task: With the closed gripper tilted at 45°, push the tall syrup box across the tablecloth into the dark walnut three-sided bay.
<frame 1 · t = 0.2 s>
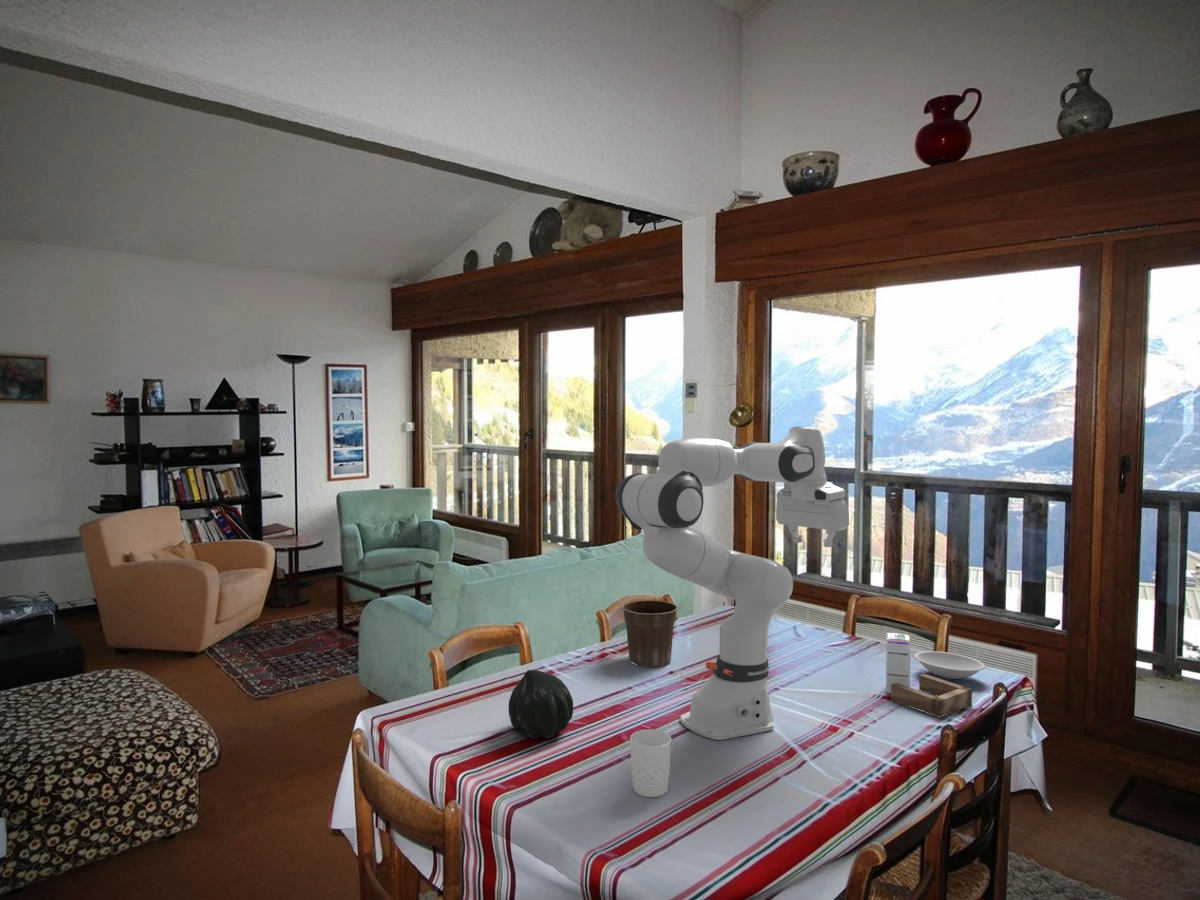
hand: (812, 544, 188), 39 cm above the table, tool pointing down, fingers open, 8 cm apart
syrup box: (897, 691, 195), on the table
walnut bay: (930, 702, 187), on the table
dish: (948, 679, 204), on the table
white cup: (650, 789, 143), on the table
plant pot: (649, 661, 217), on the table
squash: (541, 732, 169), on the table
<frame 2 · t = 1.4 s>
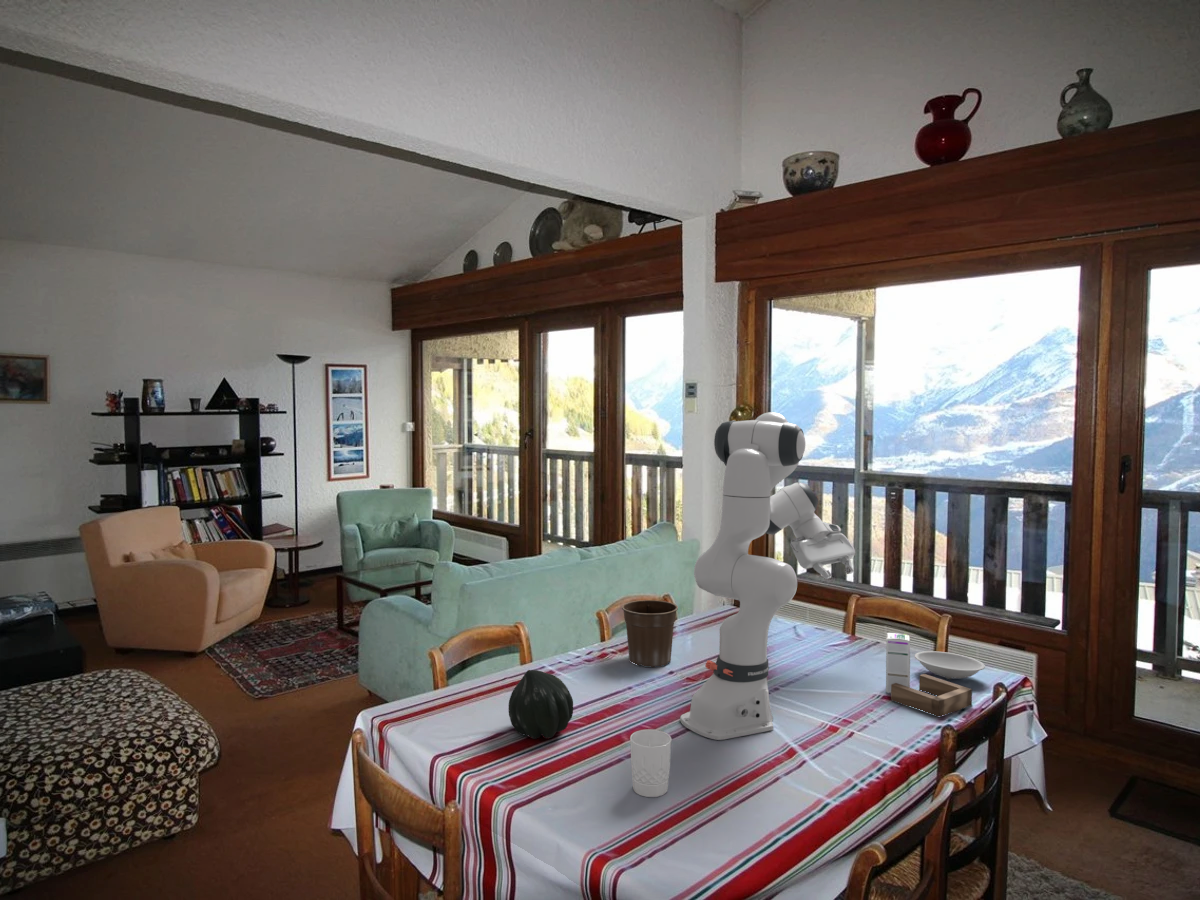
hand: (839, 575, 209), 27 cm above the table, tool tilted 45°, fingers open, 8 cm apart
nothing on the table moved.
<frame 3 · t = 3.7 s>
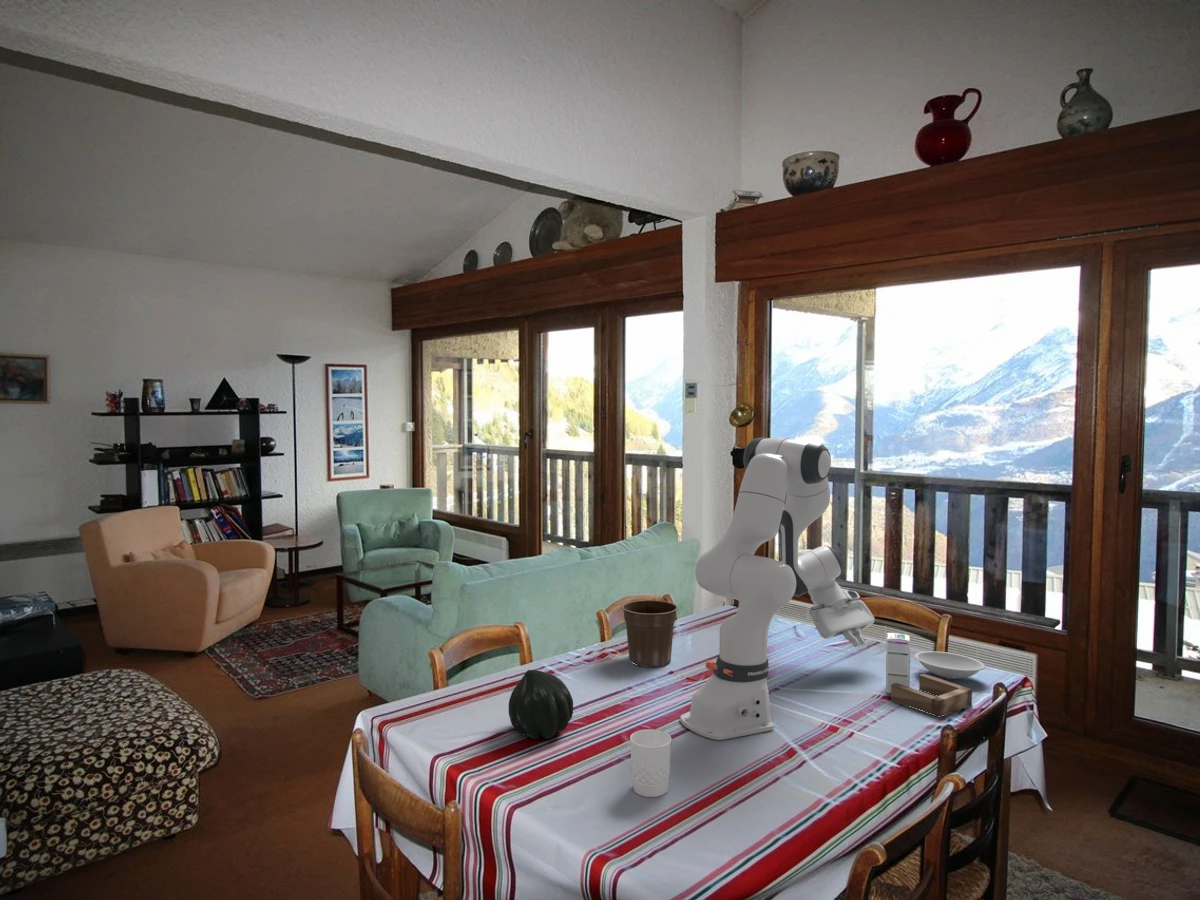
hand: (860, 645, 204), 9 cm above the table, tool tilted 45°, fingers closed
nothing on the table moved.
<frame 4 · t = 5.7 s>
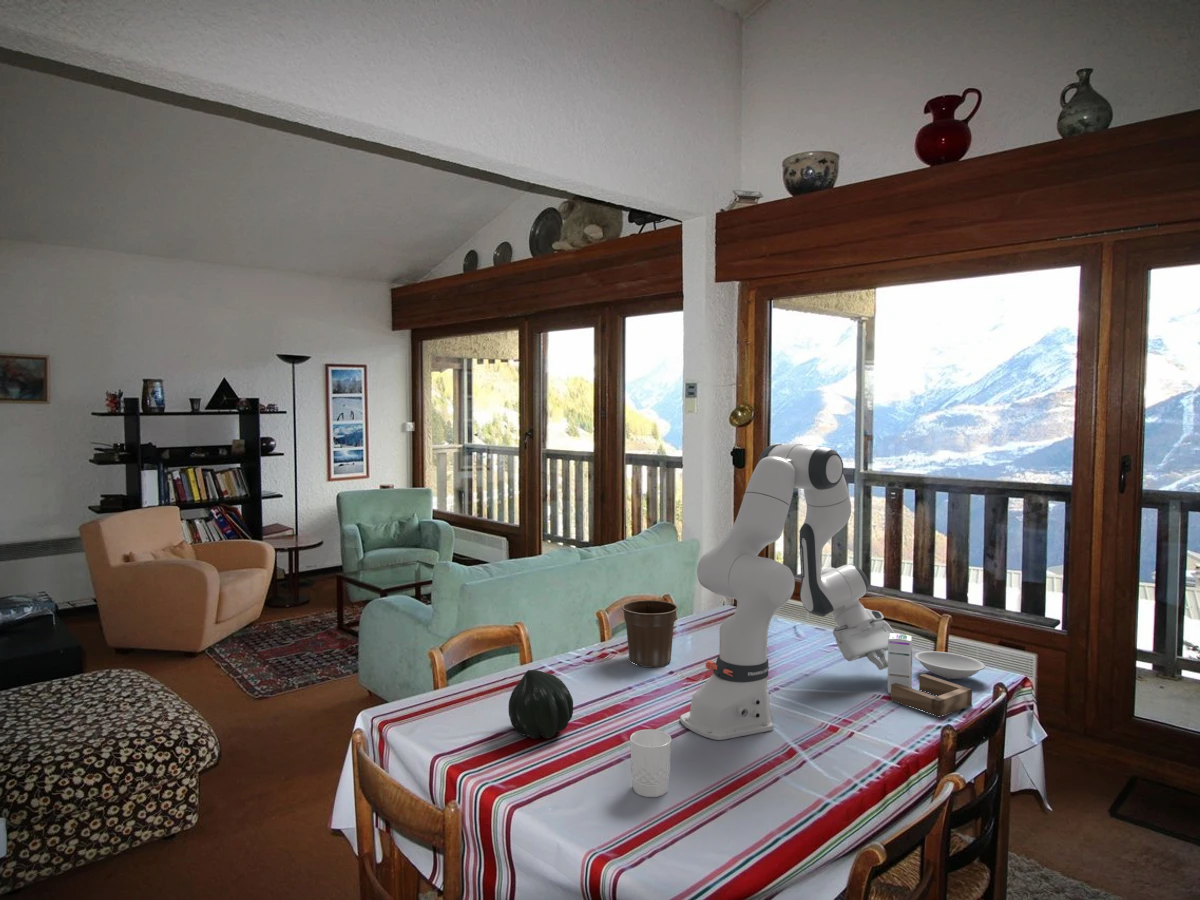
hand: (885, 668, 198), 5 cm above the table, tool tilted 45°, fingers closed
syrup box: (899, 692, 194), on the table, touching gripper
everything else where it was.
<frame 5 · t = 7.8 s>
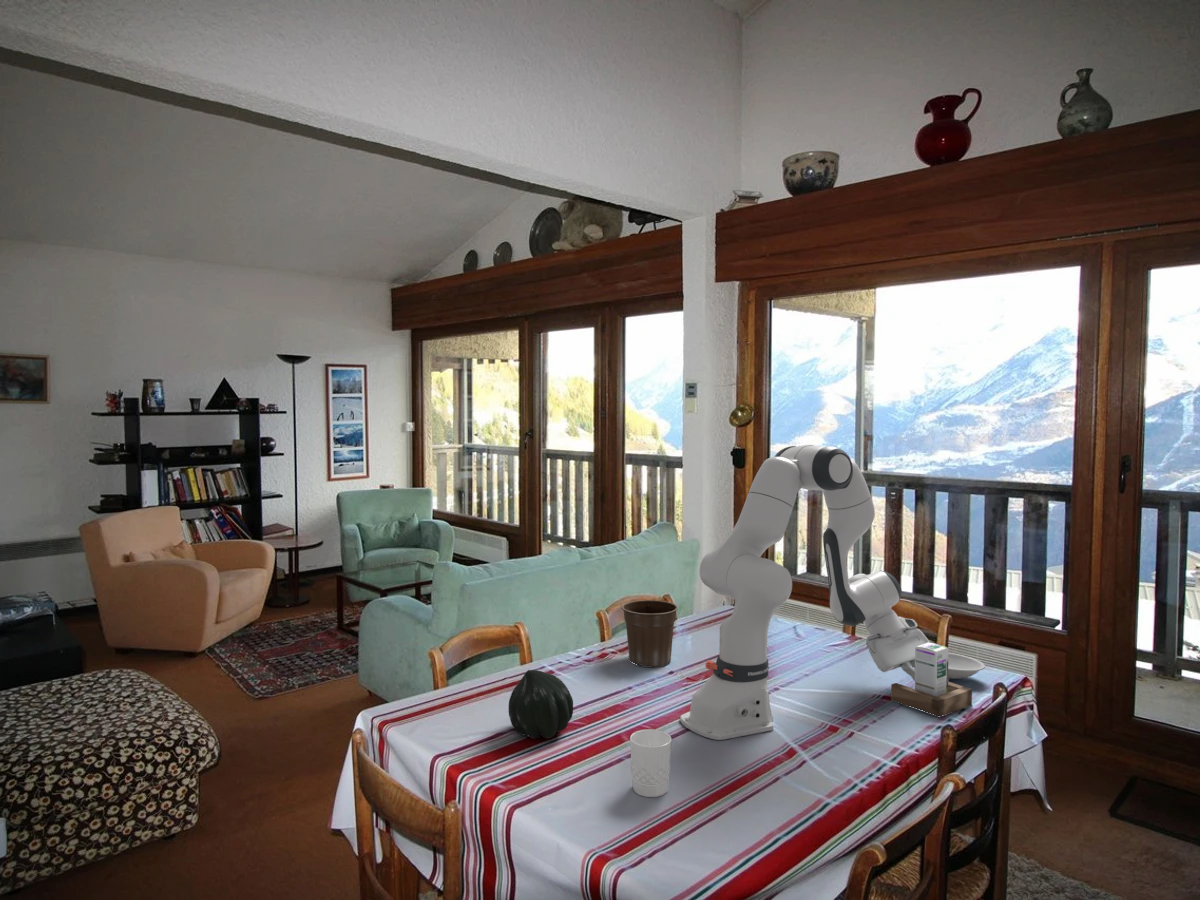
hand: (920, 679, 189), 5 cm above the table, tool tilted 45°, fingers closed, pressing on syrup box
syrup box: (930, 704, 186), on the table, touching gripper
everything else where it was.
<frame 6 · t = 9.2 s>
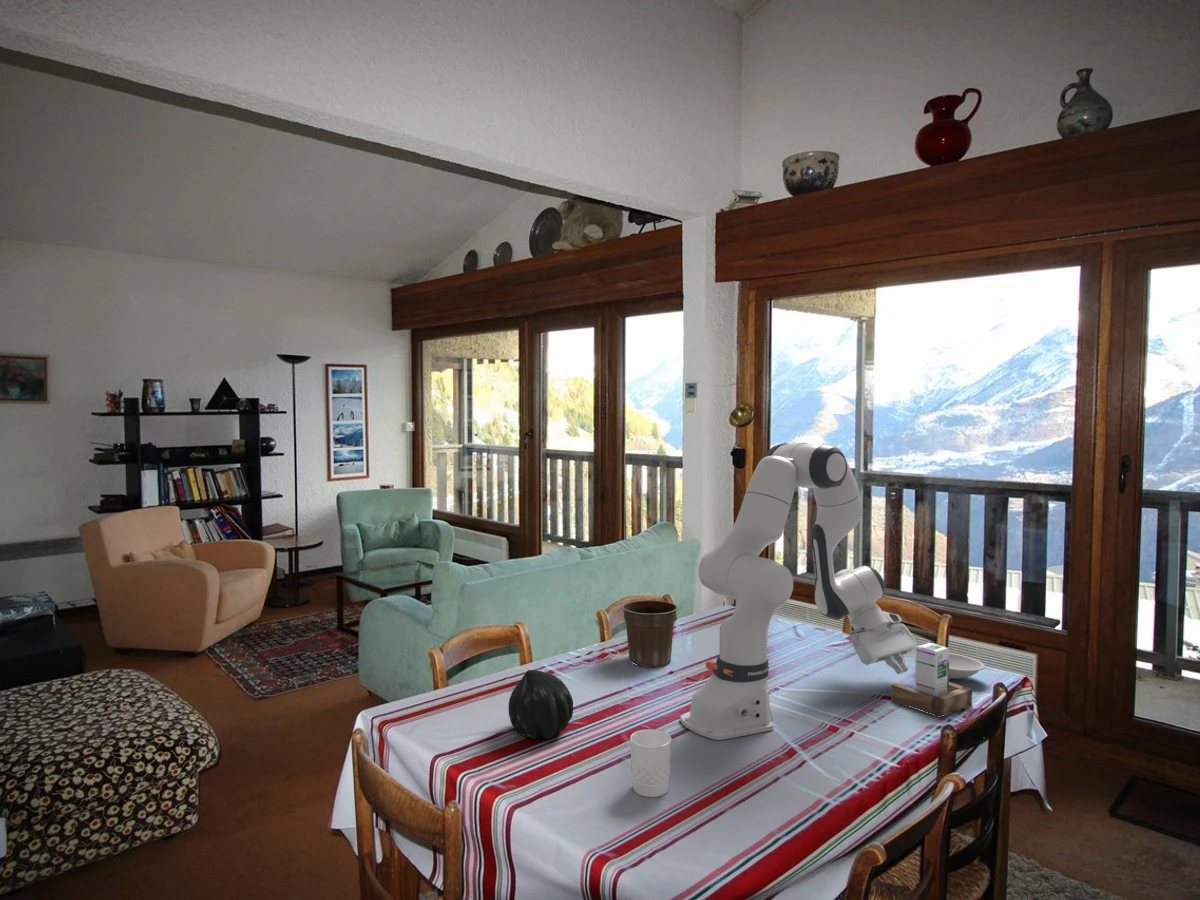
hand: (903, 672, 193), 5 cm above the table, tool tilted 45°, fingers closed
syrup box: (931, 704, 186), on the table
everything else where it was.
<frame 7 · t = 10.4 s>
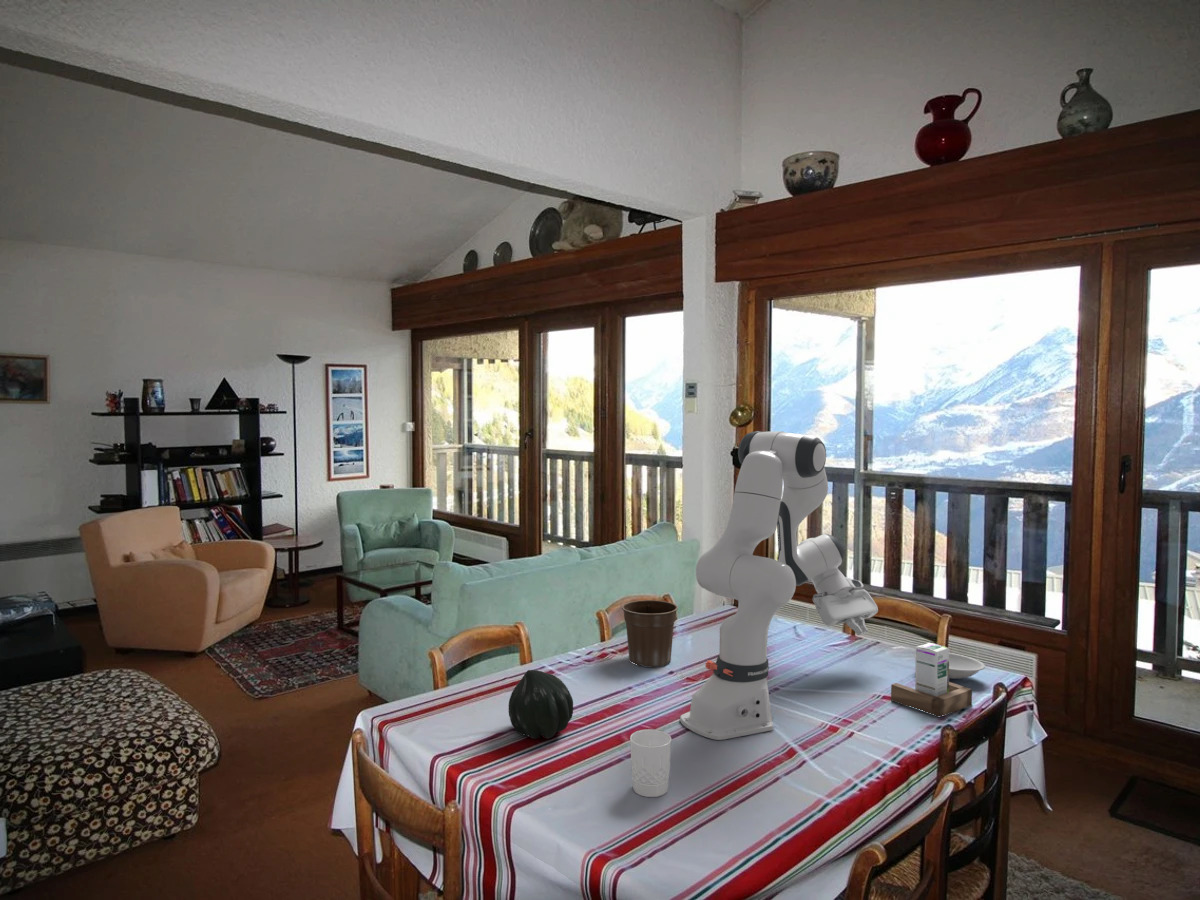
hand: (863, 633, 203), 12 cm above the table, tool tilted 45°, fingers closed
nothing on the table moved.
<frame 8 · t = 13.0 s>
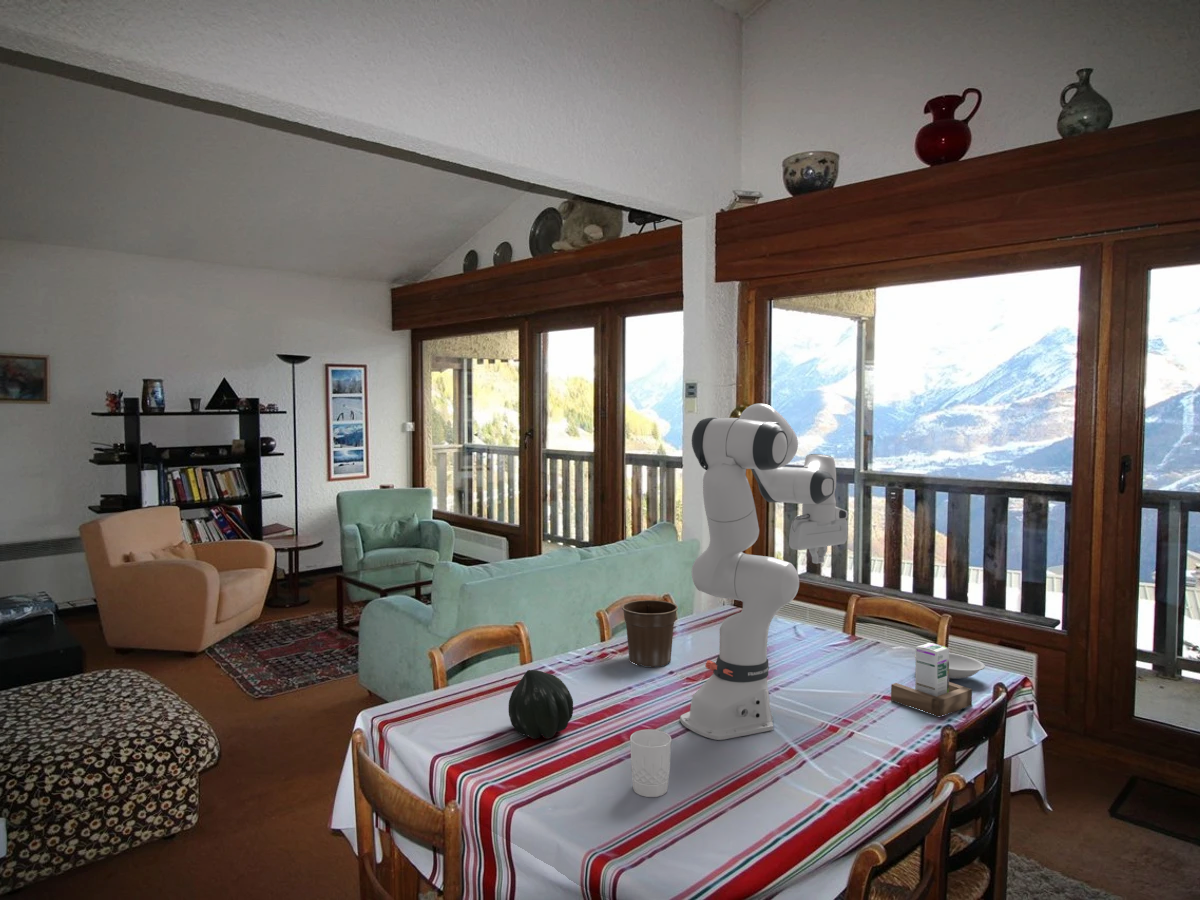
hand: (817, 562, 205), 31 cm above the table, tool pointing down, fingers closed
nothing on the table moved.
at the end: syrup box 0.7 cm off-centre on the walnut bay, point 0.0 cm above the walnut bay's base; syrup box tilted 0° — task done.
